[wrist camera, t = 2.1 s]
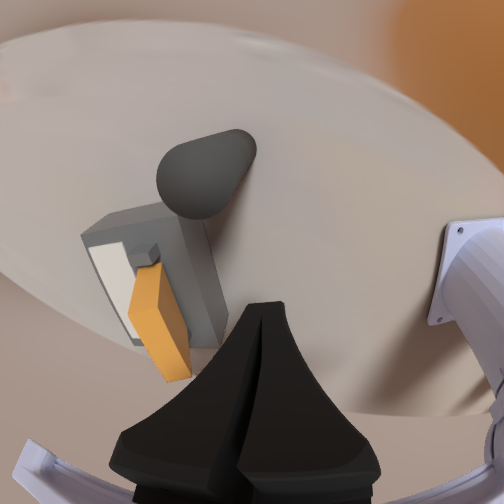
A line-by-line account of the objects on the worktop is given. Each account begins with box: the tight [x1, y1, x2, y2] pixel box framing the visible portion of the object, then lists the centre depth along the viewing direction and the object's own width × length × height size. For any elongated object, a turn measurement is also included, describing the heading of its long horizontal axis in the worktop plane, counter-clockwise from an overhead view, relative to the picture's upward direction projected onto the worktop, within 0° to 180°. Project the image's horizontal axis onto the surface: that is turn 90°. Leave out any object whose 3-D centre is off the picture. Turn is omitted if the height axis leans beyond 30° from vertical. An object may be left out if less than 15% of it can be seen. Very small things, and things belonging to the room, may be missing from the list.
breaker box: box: [81, 202, 229, 348], centre depth 14 cm, size 6×8×4 cm
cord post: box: [156, 129, 257, 220], centre depth 9 cm, size 2×2×7 cm
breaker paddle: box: [128, 262, 192, 382], centre depth 11 cm, size 1×4×4 cm, turn 10°
